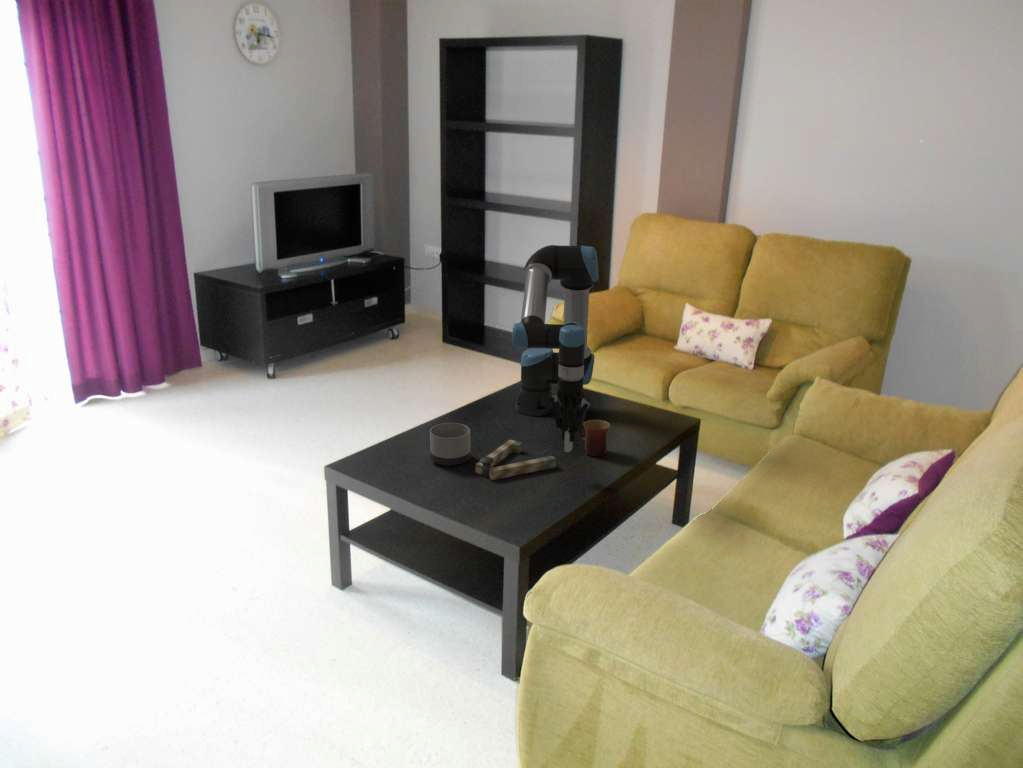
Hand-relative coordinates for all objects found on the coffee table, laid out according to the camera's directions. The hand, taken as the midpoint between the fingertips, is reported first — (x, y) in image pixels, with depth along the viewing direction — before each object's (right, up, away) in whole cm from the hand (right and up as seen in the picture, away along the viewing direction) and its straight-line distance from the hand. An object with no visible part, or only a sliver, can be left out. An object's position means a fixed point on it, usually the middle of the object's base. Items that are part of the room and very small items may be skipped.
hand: (568, 450), depth 256 cm
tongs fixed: (-21, -5, +12) cm, 25 cm away
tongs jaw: (-14, -7, +6) cm, 17 cm away
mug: (+9, -2, +21) cm, 23 cm away
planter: (-37, -5, +14) cm, 40 cm away
